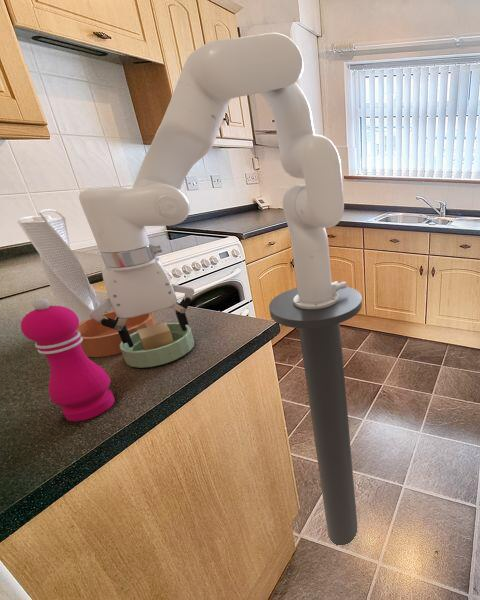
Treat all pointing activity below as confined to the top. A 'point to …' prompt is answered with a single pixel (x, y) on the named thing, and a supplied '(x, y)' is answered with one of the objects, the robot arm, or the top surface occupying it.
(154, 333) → the beech block
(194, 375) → the top surface
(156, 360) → the dish
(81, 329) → the pan
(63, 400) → the pepper mill
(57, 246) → the skyscraper
